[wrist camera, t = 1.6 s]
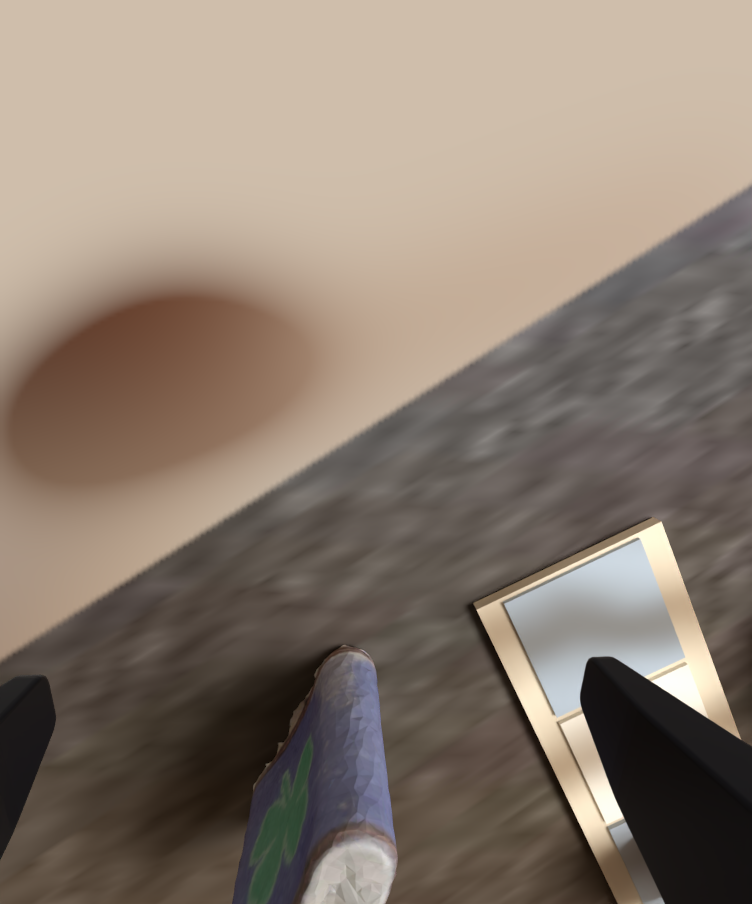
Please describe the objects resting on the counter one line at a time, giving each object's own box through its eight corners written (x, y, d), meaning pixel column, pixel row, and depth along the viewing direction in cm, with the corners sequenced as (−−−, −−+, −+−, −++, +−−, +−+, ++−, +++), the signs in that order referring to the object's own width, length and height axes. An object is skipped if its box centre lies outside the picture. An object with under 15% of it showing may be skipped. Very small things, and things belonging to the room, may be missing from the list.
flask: (334, 633, 24) (336, 902, 12) (395, 660, 24) (450, 940, 13) (240, 802, 25) (165, 1176, 14) (299, 823, 26) (273, 1200, 15)
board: (774, 845, 28) (786, 859, 28) (623, 914, 29) (631, 930, 28) (653, 517, 24) (664, 523, 23) (473, 603, 24) (477, 612, 23)
